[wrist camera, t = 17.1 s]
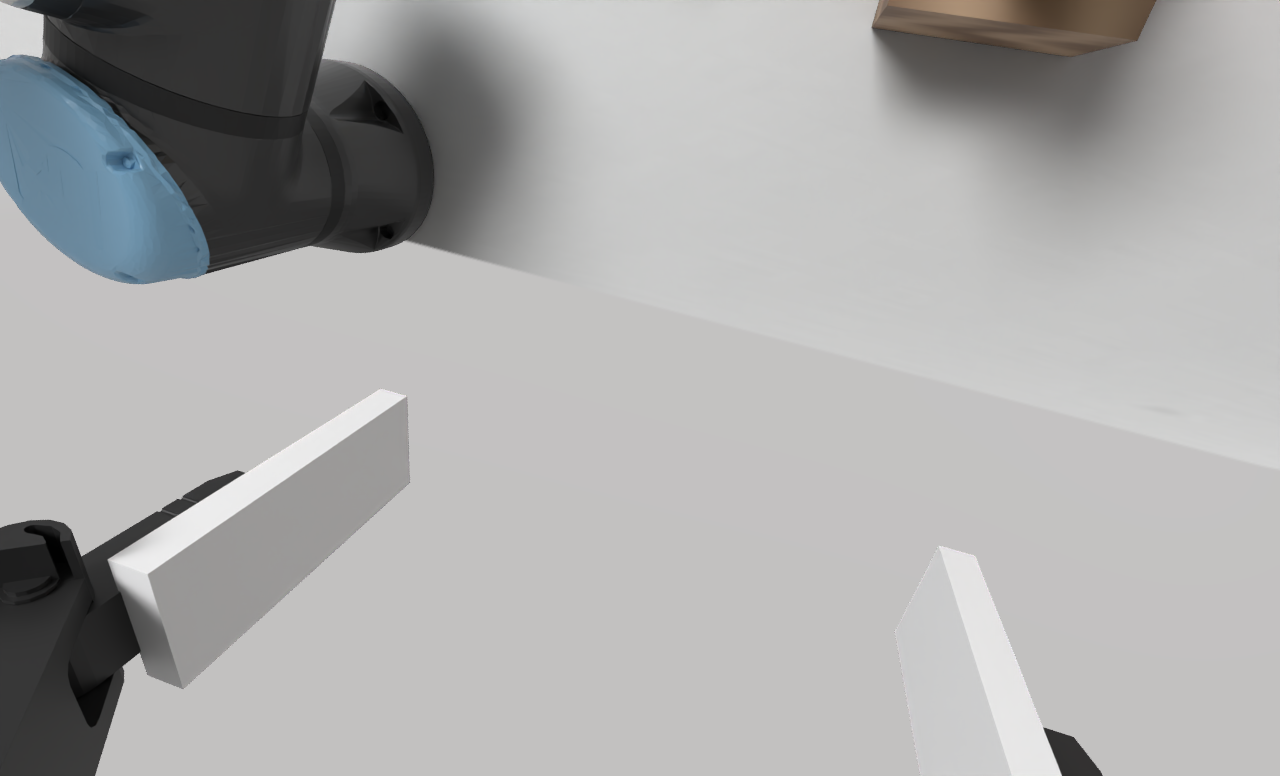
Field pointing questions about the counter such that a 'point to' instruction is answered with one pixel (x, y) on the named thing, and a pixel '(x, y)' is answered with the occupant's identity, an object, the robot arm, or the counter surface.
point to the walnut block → (1021, 22)
